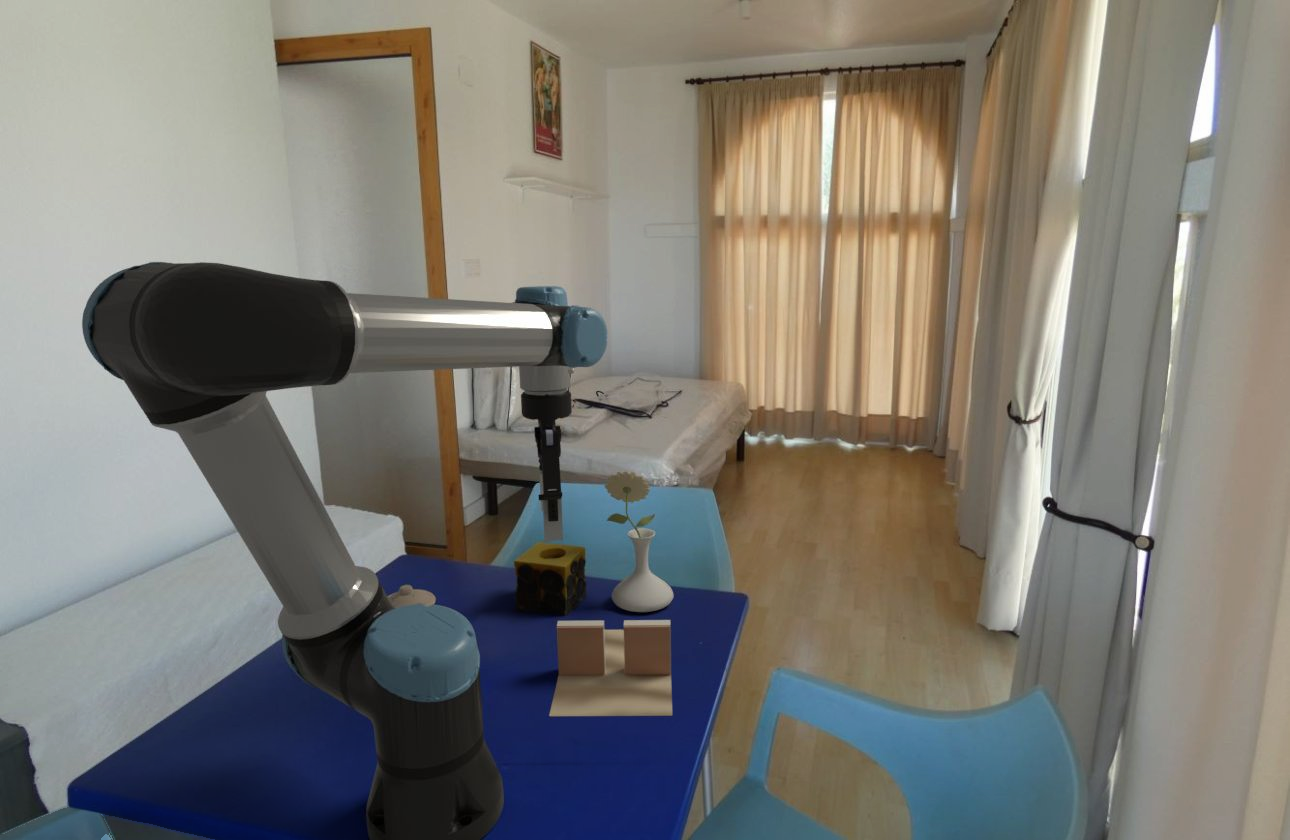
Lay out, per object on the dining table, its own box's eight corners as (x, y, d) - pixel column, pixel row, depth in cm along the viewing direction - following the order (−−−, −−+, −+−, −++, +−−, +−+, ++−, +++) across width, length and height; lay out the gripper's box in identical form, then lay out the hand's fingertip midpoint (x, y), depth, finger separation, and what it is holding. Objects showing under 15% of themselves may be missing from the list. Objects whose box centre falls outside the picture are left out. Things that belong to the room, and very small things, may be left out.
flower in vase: (683, 597, 137) (683, 468, 132) (656, 624, 127) (654, 486, 122) (623, 584, 143) (620, 460, 138) (592, 608, 133) (587, 476, 128)
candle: (514, 613, 132) (511, 561, 130) (538, 589, 142) (536, 540, 139) (567, 620, 129) (564, 567, 127) (587, 595, 139) (586, 545, 136)
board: (672, 719, 101) (672, 715, 101) (549, 720, 101) (549, 716, 101) (669, 632, 124) (669, 629, 124) (569, 633, 124) (569, 629, 124)
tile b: (671, 675, 110) (670, 626, 109) (624, 675, 110) (623, 626, 109) (670, 667, 112) (670, 619, 111) (625, 668, 112) (624, 620, 111)
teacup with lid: (375, 670, 114) (368, 601, 112) (389, 641, 123) (382, 576, 120) (454, 664, 115) (449, 596, 113) (462, 636, 124) (457, 572, 122)
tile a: (604, 675, 111) (603, 626, 109) (558, 675, 111) (556, 627, 109) (605, 668, 112) (604, 620, 111) (560, 668, 113) (558, 620, 111)
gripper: (577, 404, 99) (582, 552, 103) (565, 377, 123) (569, 498, 127) (521, 407, 98) (528, 556, 102) (520, 378, 122) (526, 501, 126)
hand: (551, 524), depth 115 cm, fingers open, 13 cm apart
